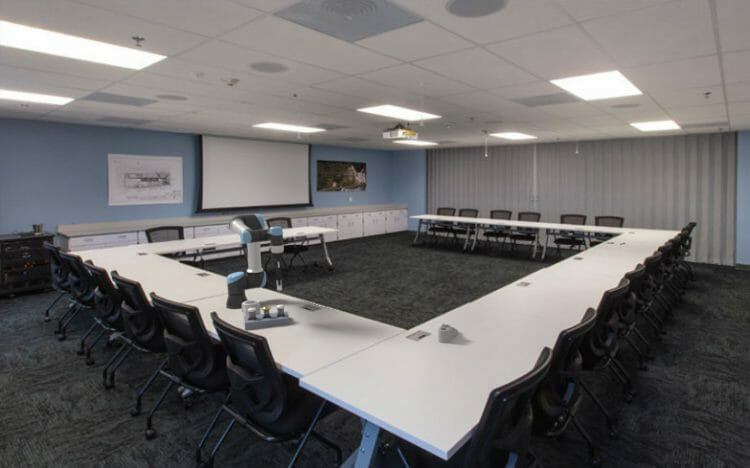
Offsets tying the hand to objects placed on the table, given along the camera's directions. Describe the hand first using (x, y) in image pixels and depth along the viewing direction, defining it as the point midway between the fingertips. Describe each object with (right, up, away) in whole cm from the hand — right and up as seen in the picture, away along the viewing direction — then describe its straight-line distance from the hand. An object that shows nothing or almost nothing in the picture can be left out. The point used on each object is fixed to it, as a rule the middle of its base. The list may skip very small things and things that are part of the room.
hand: (279, 289), depth 255 cm
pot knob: (-8, -17, 0) cm, 19 cm away
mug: (-22, -20, +15) cm, 33 cm away
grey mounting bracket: (+99, -22, -30) cm, 106 cm away
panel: (-8, -21, 0) cm, 22 cm away
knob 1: (-16, -17, -3) cm, 24 cm away
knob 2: (0, -16, +2) cm, 16 cm away
